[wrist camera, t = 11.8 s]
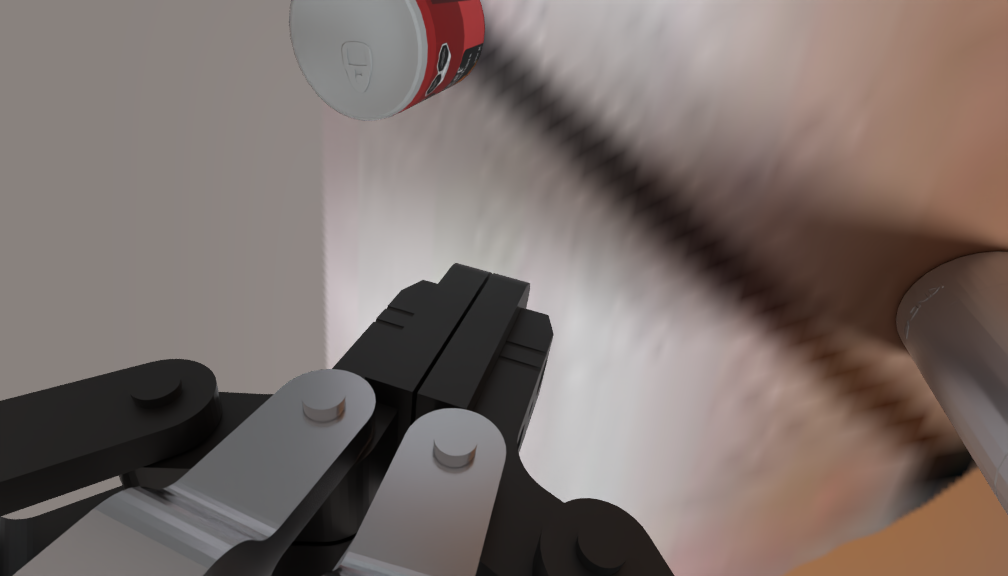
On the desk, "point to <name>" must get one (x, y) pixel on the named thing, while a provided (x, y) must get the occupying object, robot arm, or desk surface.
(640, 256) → the desk surface
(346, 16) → the canned food
